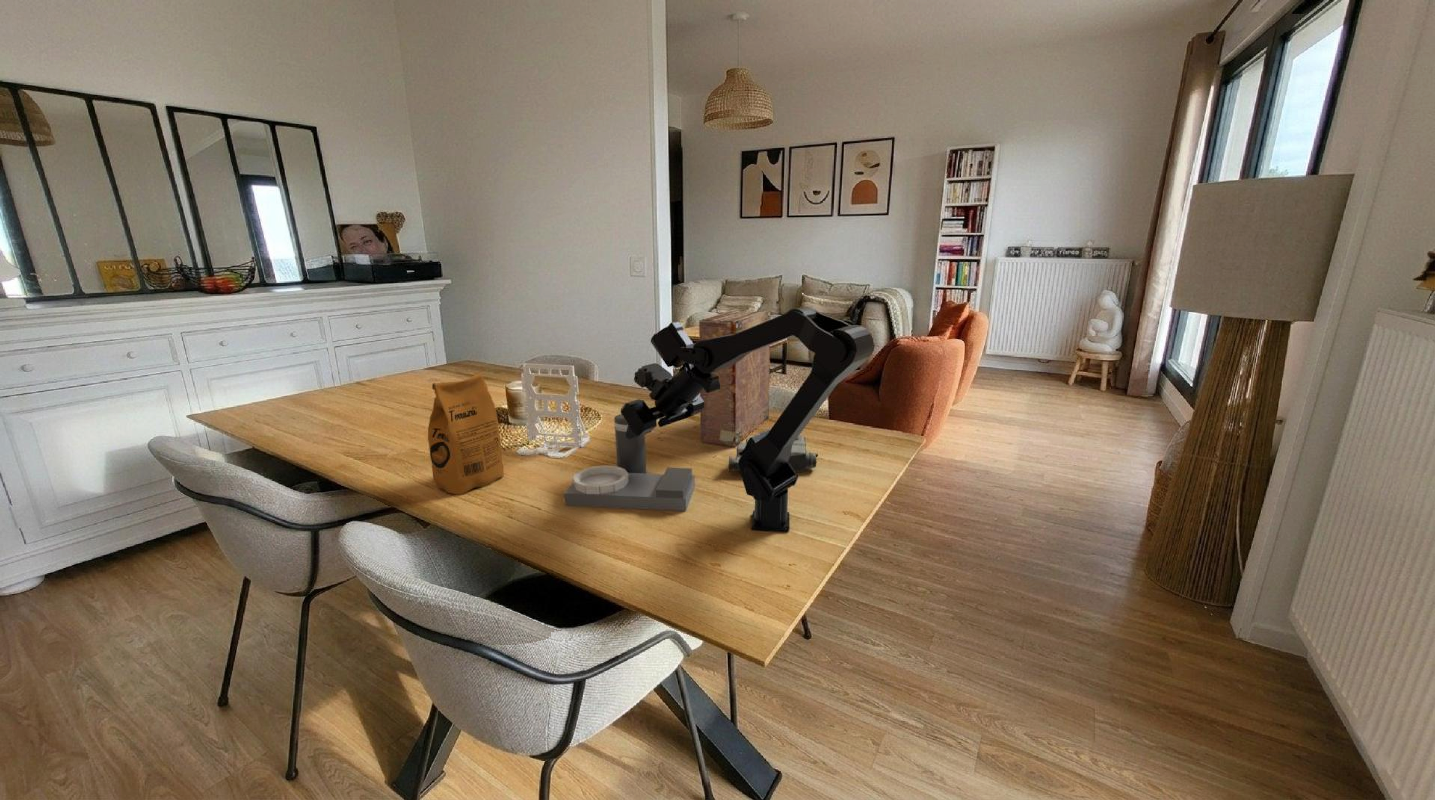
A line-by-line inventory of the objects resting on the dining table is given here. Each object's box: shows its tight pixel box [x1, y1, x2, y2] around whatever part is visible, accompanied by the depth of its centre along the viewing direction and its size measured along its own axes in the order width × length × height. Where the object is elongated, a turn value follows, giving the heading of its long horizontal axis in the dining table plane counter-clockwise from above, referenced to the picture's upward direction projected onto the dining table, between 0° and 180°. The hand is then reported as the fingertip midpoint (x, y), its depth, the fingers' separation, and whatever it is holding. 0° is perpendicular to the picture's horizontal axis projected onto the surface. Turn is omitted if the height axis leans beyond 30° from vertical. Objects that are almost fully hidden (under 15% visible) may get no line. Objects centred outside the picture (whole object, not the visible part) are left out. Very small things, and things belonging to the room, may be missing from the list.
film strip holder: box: [515, 363, 591, 459], centre depth 134 cm, size 14×14×20 cm
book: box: [698, 308, 772, 448], centre depth 144 cm, size 25×9×30 cm, turn 157°
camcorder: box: [727, 434, 819, 473], centre depth 126 cm, size 16×20×5 cm
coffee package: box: [427, 372, 505, 496], centre depth 114 cm, size 10×12×22 cm
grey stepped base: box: [563, 464, 696, 512], centre depth 110 cm, size 11×23×4 cm, turn 83°
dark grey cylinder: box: [613, 413, 647, 474], centre depth 118 cm, size 6×6×13 cm
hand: (643, 431), depth 114 cm, fingers open, 9 cm apart
